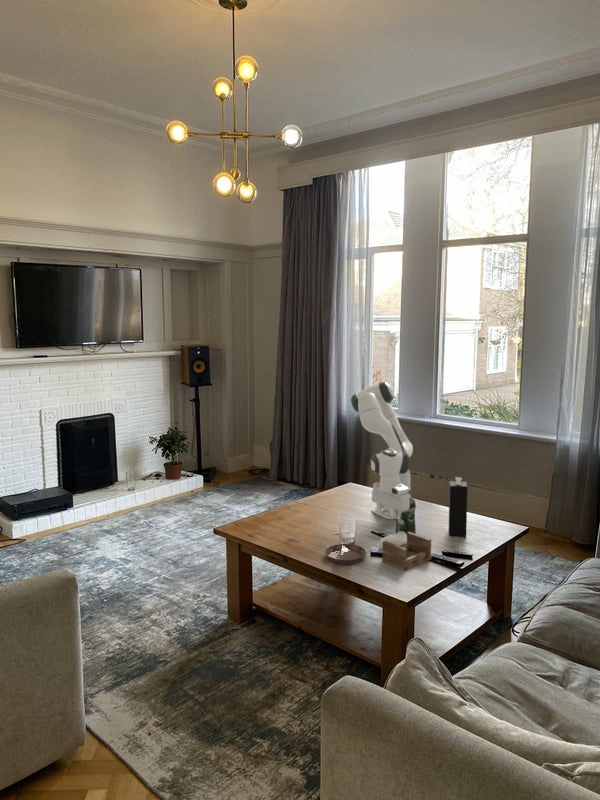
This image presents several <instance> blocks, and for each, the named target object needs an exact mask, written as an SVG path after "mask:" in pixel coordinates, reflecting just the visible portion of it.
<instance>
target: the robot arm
mask: <svg viewBox="0 0 600 800" xmlns="http://www.w3.org/2000/svg"><path fill="white" fill-rule="evenodd" d="M394 398H395V394H394V389H393V387H392V385H390V382H389V383H388V382H386V381H383V382H379V383H378V384H374V385H371V386H368V387H366V388H365V389H363V390H361V391H358V392H356V393H353V395H352V396H351V399H350V403H351V407H352V408H353V410H354V411H355V412H356V413H358V415H359V416H358V417H359V420H360V423H361V426H362V428H364V429H365V430H366V431H367V432H369V433H372V434H376V435H379V436H381V437H382V438H383V440H384V441H385V443H386V444H387V446H388V448H387V449H382V450H381V451H380V453H376V454H373V455H372V457H371V458H370V460H369V461H370V470H371V471H372V473H374V474H375V475H379V476H380V477H379V482H377V481H376V482H375V483H373V484H372V489H371V501H372V503H376V506H375V507H373V508H372V509H371V512H372V513H374V514H376V515H378V516H380V517H382V518H384V519H386V520H396V519H400V515H401V513H402V512H404V511H407V510H408V509H409V507H410V501H409V498H412V488H411V472H410V468H411V467H412V460H411V457H412V456H413V452H414V447H413V444H412V443H411V441H410V440H409V438H408V437H407V435H406V433H405V432H404V430H403V428H402V427H401V424H400V421H399V419H398V417H397V414H396V412H395V409H394V407H393V406H392V404H391V403H392V401H393V400H394ZM396 509H397V512H398V513H397V514H396Z"/></svg>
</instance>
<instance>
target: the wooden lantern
mask: <svg viewBox="0 0 600 800" xmlns="http://www.w3.org/2000/svg"><path fill="white" fill-rule="evenodd" d="M431 560H432V539H431V538H428V537H426V536H423V535H421V534H417V533H416V534H415V533H412V532H407V543H406V544H405V545H403V546H398V545H395V544H393V543H390V542H387V541H383V549H382V559H381V562H382V564H385V565H388V566H391V567H393V568H395V569H398V570H400V571H402V572H405V571H407V570H410V569H412V568H415V567H417V566H420V565H421V564H424V563H425V562H428V561H431Z"/></svg>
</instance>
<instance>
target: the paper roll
mask: <svg viewBox="0 0 600 800" xmlns="http://www.w3.org/2000/svg"><path fill="white" fill-rule="evenodd" d="M383 541H387V542H390V543H393V544H395V545H398V546H401V547H403V546H405V545H407V535H406V533H405V532H403V531H400V532H398V533H396V532H395V533H392V534H390V535H388V536H387V535H386V536H384V537H382V538H381V539H380V541H379V545H380V547H381V550H383Z"/></svg>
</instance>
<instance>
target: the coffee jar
mask: <svg viewBox="0 0 600 800" xmlns="http://www.w3.org/2000/svg"><path fill="white" fill-rule="evenodd" d="M409 501H410V507H409V509H408V510H407V511H404V512H402V513H401V515H400V519H395V533H398V532H400V531H403V532H405V533H406V535H407V532H412V533H415V534H417V533H416V531H417V530H416V508H417V507H416V501H415V499H414V498H412V497H411V498H409ZM397 513H398V512H397V509H396V514H397Z"/></svg>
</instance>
